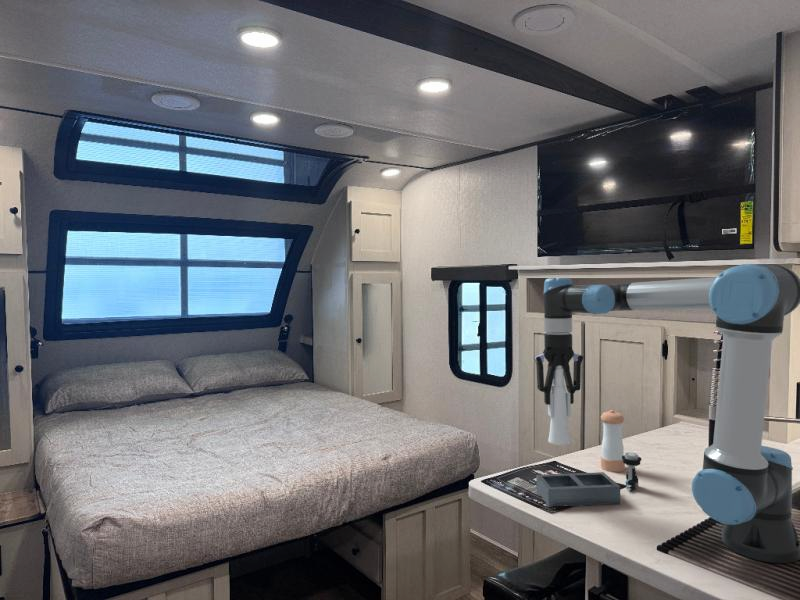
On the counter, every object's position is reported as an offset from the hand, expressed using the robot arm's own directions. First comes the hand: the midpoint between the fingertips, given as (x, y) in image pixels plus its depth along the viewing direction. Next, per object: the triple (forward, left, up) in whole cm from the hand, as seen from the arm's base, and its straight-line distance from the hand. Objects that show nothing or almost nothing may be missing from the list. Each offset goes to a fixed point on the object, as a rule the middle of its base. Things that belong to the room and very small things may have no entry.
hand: (559, 415), depth 153 cm
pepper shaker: (+22, -25, -24) cm, 41 cm away
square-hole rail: (0, -5, -24) cm, 24 cm away
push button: (+5, -23, -24) cm, 34 cm away
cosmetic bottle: (0, 0, -8) cm, 8 cm away
